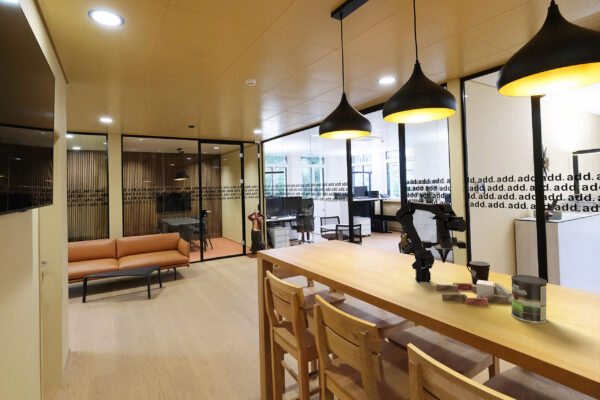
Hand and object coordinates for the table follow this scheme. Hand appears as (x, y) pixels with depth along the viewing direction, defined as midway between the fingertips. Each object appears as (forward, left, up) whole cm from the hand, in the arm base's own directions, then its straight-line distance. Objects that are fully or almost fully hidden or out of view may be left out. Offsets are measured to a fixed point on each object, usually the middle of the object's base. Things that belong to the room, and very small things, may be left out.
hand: (443, 262), depth 144 cm
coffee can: (+22, -30, -12) cm, 39 cm away
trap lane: (+9, -10, -12) cm, 18 cm away
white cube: (+15, -9, -12) cm, 21 cm away
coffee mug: (+18, +10, -12) cm, 24 cm away
